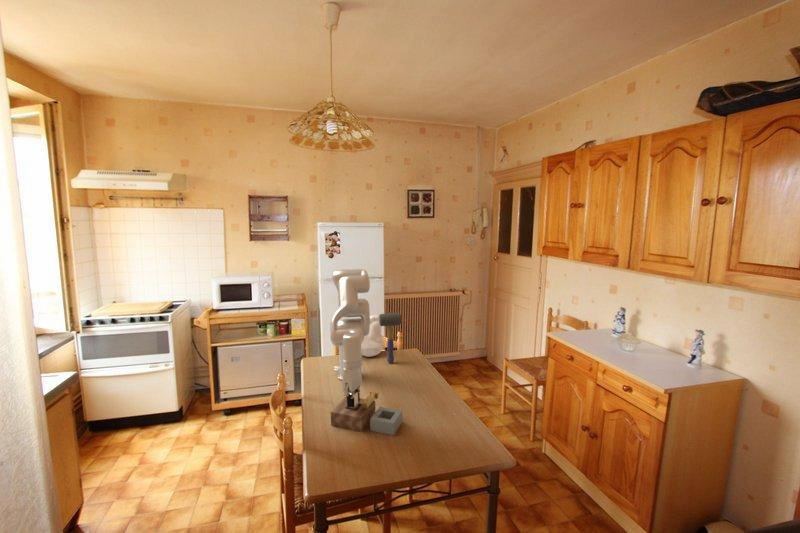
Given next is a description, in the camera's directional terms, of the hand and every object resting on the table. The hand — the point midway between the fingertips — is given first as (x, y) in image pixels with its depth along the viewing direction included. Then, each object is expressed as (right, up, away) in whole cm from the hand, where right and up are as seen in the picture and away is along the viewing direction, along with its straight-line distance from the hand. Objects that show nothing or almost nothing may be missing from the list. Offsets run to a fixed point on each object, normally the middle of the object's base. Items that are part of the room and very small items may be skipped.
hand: (353, 403), depth 154 cm
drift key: (+7, -1, +3) cm, 7 cm away
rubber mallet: (+14, +1, +60) cm, 62 cm away
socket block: (0, -7, +1) cm, 7 cm away
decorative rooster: (-3, +3, +73) cm, 73 cm away
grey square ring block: (+14, -8, -4) cm, 17 cm away
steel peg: (0, -7, +1) cm, 7 cm away
